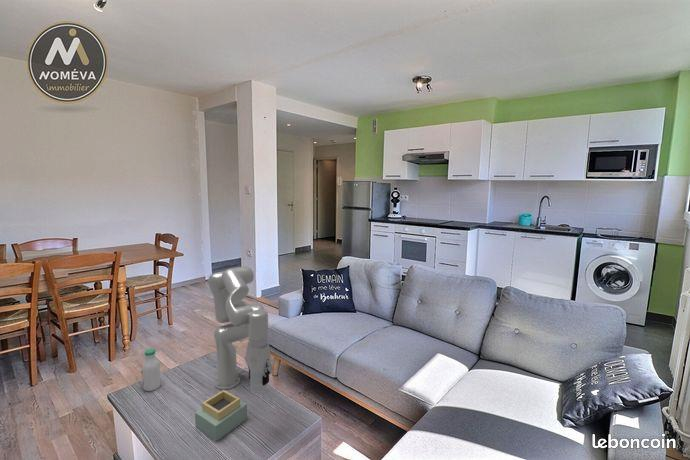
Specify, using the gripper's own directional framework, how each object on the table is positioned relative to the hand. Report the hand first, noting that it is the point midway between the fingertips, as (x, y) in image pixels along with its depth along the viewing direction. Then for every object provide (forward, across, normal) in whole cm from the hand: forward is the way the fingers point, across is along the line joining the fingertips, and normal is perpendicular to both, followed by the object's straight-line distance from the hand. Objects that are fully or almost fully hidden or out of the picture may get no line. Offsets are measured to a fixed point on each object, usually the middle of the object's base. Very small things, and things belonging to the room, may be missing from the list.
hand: (258, 380), depth 135 cm
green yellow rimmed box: (+24, -17, -6) cm, 30 cm away
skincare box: (+5, 0, 0) cm, 5 cm away
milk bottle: (+24, -67, -10) cm, 72 cm away
